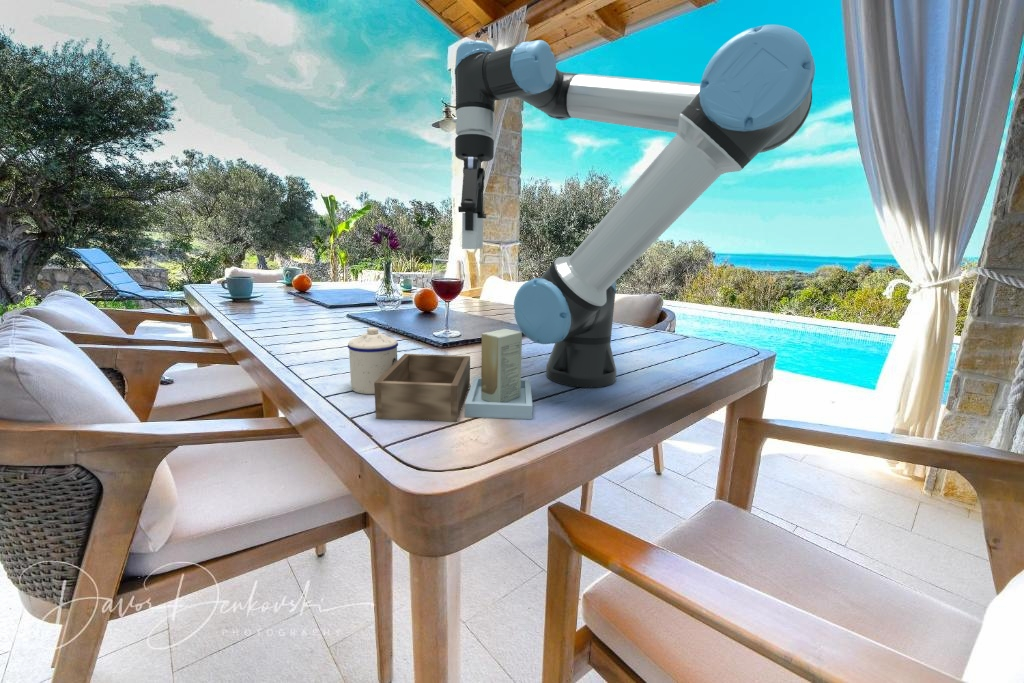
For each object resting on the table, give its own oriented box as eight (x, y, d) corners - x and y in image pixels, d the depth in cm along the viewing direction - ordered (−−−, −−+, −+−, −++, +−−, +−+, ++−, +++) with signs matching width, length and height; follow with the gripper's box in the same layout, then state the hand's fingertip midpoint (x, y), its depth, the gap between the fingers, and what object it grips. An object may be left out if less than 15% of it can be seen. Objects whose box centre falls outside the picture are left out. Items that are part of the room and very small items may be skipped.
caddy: (469, 384, 84) (470, 356, 82) (457, 421, 66) (457, 385, 65) (405, 382, 84) (404, 353, 82) (375, 418, 66) (374, 382, 65)
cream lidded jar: (400, 393, 78) (398, 332, 75) (348, 397, 75) (344, 334, 72) (397, 374, 89) (395, 320, 86) (352, 376, 86) (349, 321, 83)
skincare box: (503, 391, 78) (505, 327, 76) (521, 397, 75) (523, 331, 73) (479, 399, 74) (480, 332, 71) (496, 406, 71) (498, 336, 68)
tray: (529, 390, 82) (529, 379, 81) (531, 419, 68) (532, 406, 67) (473, 388, 82) (473, 377, 81) (464, 416, 68) (465, 403, 68)
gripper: (463, 150, 93) (462, 247, 98) (444, 117, 69) (444, 248, 73) (497, 152, 93) (494, 249, 98) (489, 118, 68) (487, 249, 73)
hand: (473, 249), depth 85 cm, fingers open, 13 cm apart
